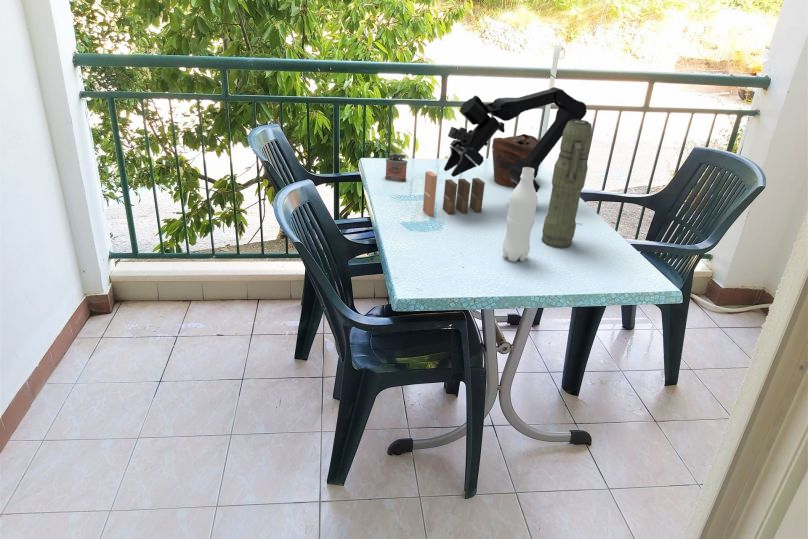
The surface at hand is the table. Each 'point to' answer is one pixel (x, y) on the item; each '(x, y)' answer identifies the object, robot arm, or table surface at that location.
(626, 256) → the table surface
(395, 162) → the lighter
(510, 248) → the water bottle
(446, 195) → the tile
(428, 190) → the end tile
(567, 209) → the thermos
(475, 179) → the tile
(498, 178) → the case
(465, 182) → the tile
